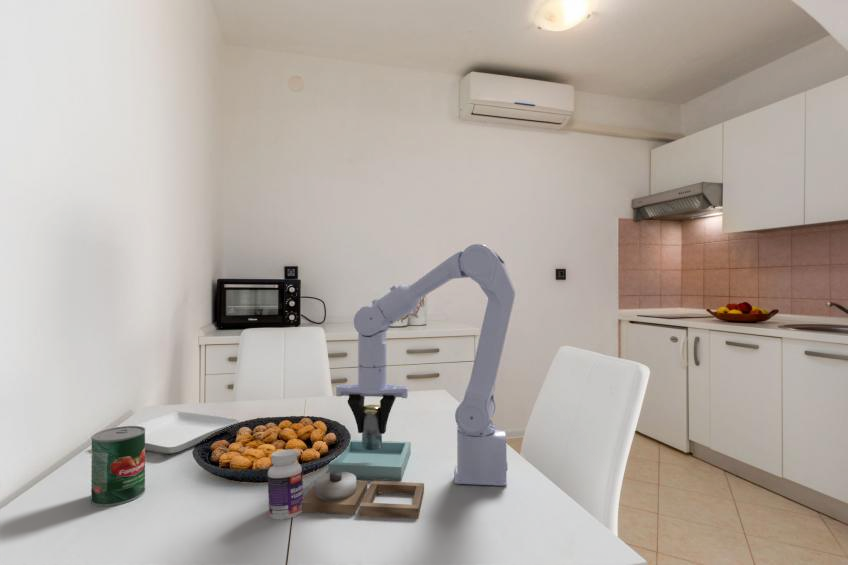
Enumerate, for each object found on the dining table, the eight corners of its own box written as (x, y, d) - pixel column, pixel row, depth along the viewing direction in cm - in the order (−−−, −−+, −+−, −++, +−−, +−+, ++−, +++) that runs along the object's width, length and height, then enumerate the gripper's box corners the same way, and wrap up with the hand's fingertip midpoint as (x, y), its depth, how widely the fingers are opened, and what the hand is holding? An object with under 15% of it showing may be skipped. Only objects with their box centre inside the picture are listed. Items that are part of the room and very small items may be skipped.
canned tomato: (133, 504, 78) (133, 438, 78) (81, 508, 77) (81, 441, 77) (152, 484, 86) (152, 424, 86) (105, 487, 84) (105, 426, 84)
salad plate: (172, 462, 97) (172, 445, 97) (98, 450, 104) (98, 435, 104) (242, 431, 117) (242, 418, 117) (177, 423, 124) (177, 410, 124)
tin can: (384, 444, 96) (384, 405, 97) (377, 450, 93) (377, 410, 93) (366, 442, 98) (366, 404, 98) (359, 448, 94) (359, 408, 94)
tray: (410, 453, 101) (410, 441, 101) (401, 480, 88) (401, 467, 88) (347, 451, 103) (347, 439, 103) (328, 477, 89) (328, 464, 89)
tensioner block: (424, 491, 83) (424, 466, 83) (418, 518, 73) (418, 489, 73) (318, 487, 85) (318, 462, 85) (300, 512, 75) (300, 484, 75)
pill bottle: (297, 520, 73) (294, 456, 74) (264, 521, 73) (261, 458, 74) (308, 506, 78) (305, 446, 79) (276, 507, 79) (274, 448, 79)
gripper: (410, 362, 98) (409, 427, 98) (342, 361, 100) (342, 424, 100) (405, 368, 91) (405, 438, 91) (333, 367, 93) (333, 435, 93)
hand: (372, 431), depth 95 cm, fingers closed on tin can, 4 cm apart
